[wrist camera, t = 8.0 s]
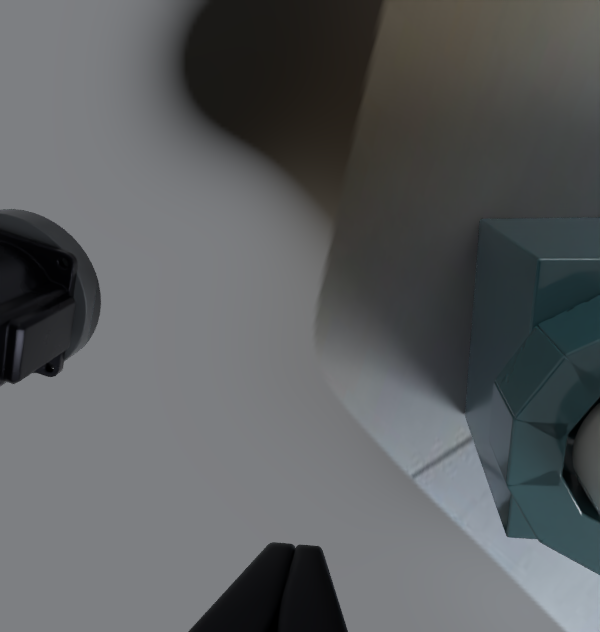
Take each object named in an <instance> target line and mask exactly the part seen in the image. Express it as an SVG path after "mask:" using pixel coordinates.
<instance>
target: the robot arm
mask: <svg viewBox="0 0 600 632" xmlns="http://www.w3.org/2000/svg"><path fill="white" fill-rule="evenodd" d="M63 258H65V259H66V260H67V261H68V267H67V266H65V265H64V263H63ZM77 269H78V260H77V257H76V256H75V255H74V254H73V253H72V252H70V251H67V250H64V249H61V248H58V247H54V246H51V245H48V244H45V243H42V242H39V241H36V240H33V239H30V238H26V237H23V236H20V235H17V234H14V233H11V232H8V231H5V230H1V229H0V386H1V385H3V384H5V383H6V382H9V383H12V384H15V383H17V382H19V381H21V380H22V379H23V378H25V377H27V376H28V375H29V374H31V373H33V372H36V373H39V374H42V375H45V376H48V377H53V376H56V375H57V374H58V373H60V372H61V371H62V369H63V363H64V357H65V350H66V349H68V348H69V346H70V340H71V334H72V327H73V320H74V314H75V307H76V302H75V299H74V297H73V296H74V289H75V282H76V276H77ZM49 363H50V364H52V365H53V367H54V369H52V368H51V367H50V366H49ZM189 632H348V631H347V628H346V624H345V621H344V618H343V615H342V611H341V608H340V605H339V602H338V599H337V596H336V592H335V589H334V586H333V582H332V579H331V576H330V573H329V569H328V566H327V563H326V560H325V557H324V554H323V551H322V549H321V548H320V547H319V546H310V545H298V546H297V547H296V548H295V546H294V545H292V544H286V543H270V544H268V545H267V546H266V548H265V549H264V550H263V551H262V552H261V553H260V554H259V555H258V556H257V557H256V558H255V560H254V561H253V562H252V563H251V564H250V565H249V566H248V567H247V568H246V569H245V570H244V572H243V573H242V574H241V575H240V576H239V577H238V578H237V579H236V580H235V581H234V583H233V584H232V585H231V586H230V587H229V588H228V589H227V590H226V591H225V593H223V594H222V596H221V597H220V598H219V599H218V600H217V601H216V602H215V604H213V605H212V607H211V608H210V609H209V610H208V611H207V612H206V613H205V614H204V615H203V616H202V617H201V619H200V620H199V621H198V622H197V623H196V624H195V625H194V626H193V627H192V628H191V630H190V631H189Z"/></svg>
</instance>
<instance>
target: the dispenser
mask: <svg viewBox="0 0 600 632" xmlns="http://www.w3.org/2000/svg"><path fill="white" fill-rule="evenodd" d="M599 402H600V217H578V218H494V219H480V223H479V236H478V249H477V262H476V275H475V288H474V302H473V315H472V328H471V341H470V354H469V367H468V380H467V393H466V406H465V418H466V421H467V423H468V426H469V429H470V432H471V435H472V438H473V441H474V444H475V446H476V449H477V452H478V455H479V458H480V461H481V464H482V467H483V470H484V472H485V475H486V478H487V481H488V484H489V487H490V490H491V493H492V495H493V498H494V501H495V504H496V507H497V510H498V513H499V516H500V519H501V521H502V524H503V527H504V530H505V533H506V536H507V537H512V538H527V539H538V540H539V541H540V543H542V544H544V545H546V546H548V547H549V548H551V549H553V550H555V551H557V552H559V553H560V554H562V555H564V556H566V557H568V558H570V559H571V560H573V561H575V562H577V563H579V564H581V565H582V566H584V567H586V568H588V569H590V570H591V571H593V572H595V573H597V574H599V575H600V516H599V514H598V513H597V511H596V509H595V508H594V506H593V504H592V503H591V501H590V500H589V498H588V496H587V495H586V493H585V491H584V490H583V488H582V487H581V485H580V483H579V481H578V479H577V477H576V475H575V471H574V467H573V460H572V453H573V445H574V440H575V437H576V434H577V431H578V429H579V427H580V425H581V424H582V422H583V420H584V419H585V417H586V416H587V415H588V413H589V412H590V411H591V410H592V409H593V408H594V407H595V406H596V405H597V404H598V403H599Z"/></svg>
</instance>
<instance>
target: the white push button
mask: <svg viewBox="0 0 600 632" xmlns="http://www.w3.org/2000/svg"><path fill="white" fill-rule="evenodd" d="M572 460H573V467H574V471H575V475H576V477H577V479H578V481H579V483H580V485H581V487H582V488H583V490H584V491H585V493H586V495H587V496H588V498H589V500H590V501H591V503H592V504H593V506H594V508H595V509H596V511H597V513H598V514H599V516H600V402H599V403H598V404H597V405H596V406H595V407H594V408H593V409H592V410H591V411H590V412H589V413H588V415H587V416H586V417H585V419H584V420H583V422H582V424H581V425H580V427H579V429H578V431H577V434H576V437H575V440H574V445H573V453H572Z"/></svg>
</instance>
